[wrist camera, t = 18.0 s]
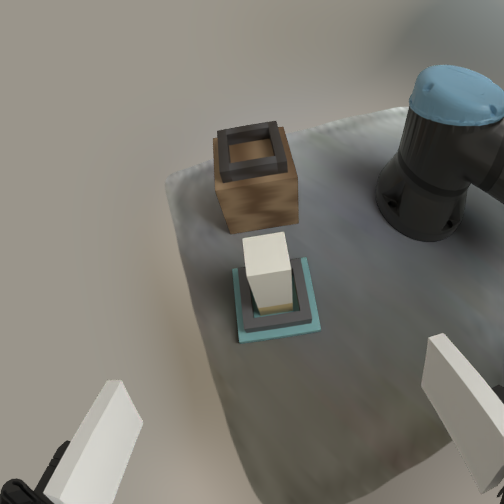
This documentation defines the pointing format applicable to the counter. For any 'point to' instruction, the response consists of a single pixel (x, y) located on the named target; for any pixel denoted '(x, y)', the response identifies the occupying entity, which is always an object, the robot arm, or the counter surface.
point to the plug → (269, 272)
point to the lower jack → (277, 324)
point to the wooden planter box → (255, 177)
